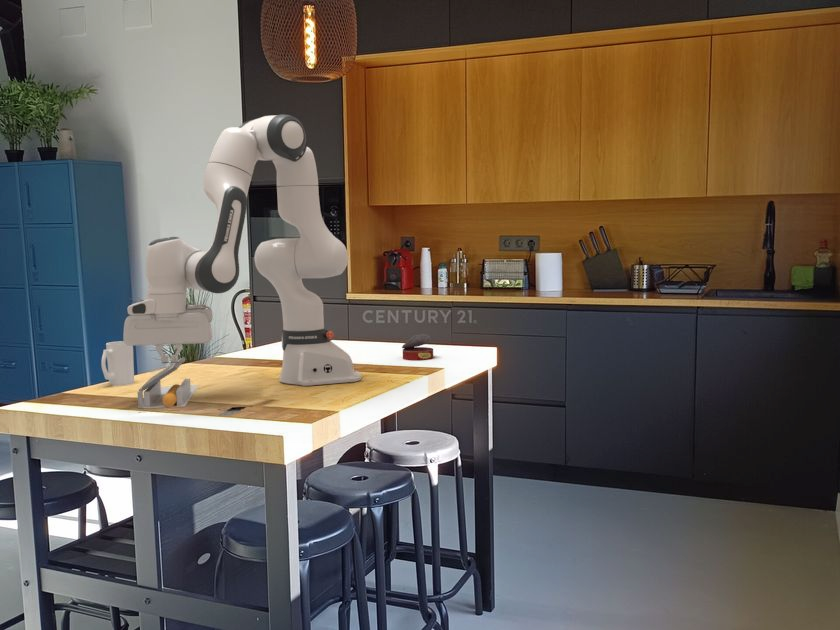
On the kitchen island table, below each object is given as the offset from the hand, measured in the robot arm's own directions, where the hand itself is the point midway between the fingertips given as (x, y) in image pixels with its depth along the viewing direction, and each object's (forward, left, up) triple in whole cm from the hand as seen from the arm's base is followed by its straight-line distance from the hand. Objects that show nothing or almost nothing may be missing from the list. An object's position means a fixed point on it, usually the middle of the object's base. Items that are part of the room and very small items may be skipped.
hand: (169, 362), depth 191 cm
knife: (-16, +10, -11) cm, 22 cm away
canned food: (-68, -53, -10) cm, 87 cm away
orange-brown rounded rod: (0, +2, -9) cm, 9 cm away
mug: (+18, -25, -10) cm, 32 cm away
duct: (+1, -5, -10) cm, 11 cm away
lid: (+1, 0, -3) cm, 3 cm away
